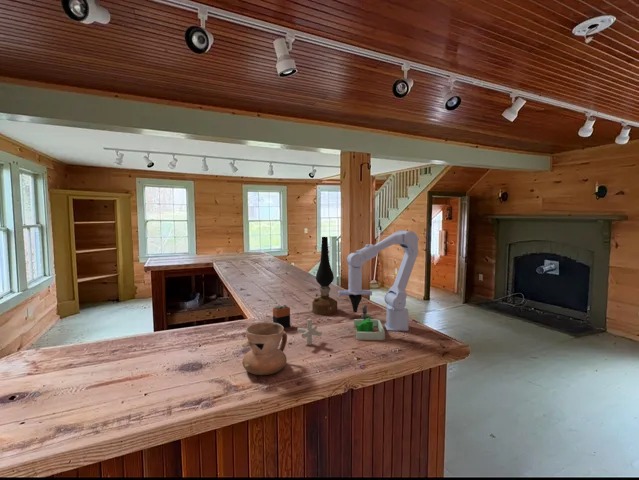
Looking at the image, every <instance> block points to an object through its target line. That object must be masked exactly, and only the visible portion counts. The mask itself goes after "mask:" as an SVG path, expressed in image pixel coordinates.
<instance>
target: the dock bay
mask: <svg viewBox="0 0 639 480" xmlns="http://www.w3.org/2000/svg"><path fill="white" fill-rule="evenodd" d="M363 321H364V319H361V318H357V319H356V318H355V319H353V327H357V325H358V324H360V323H361V322H363ZM370 321H373V327H377V328H378V331H369V332H357V331H356V333H355V334H356V336H355V337H356V339H355V340H359V341H360V340H361V341H362V340H365V341H366V340H367V341H373V340H375V341H385V340H386V331H385V329H384V327H383V325H382V324H383V323H382V322H381V320H380V319H372V318H371V319H370Z"/></svg>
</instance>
